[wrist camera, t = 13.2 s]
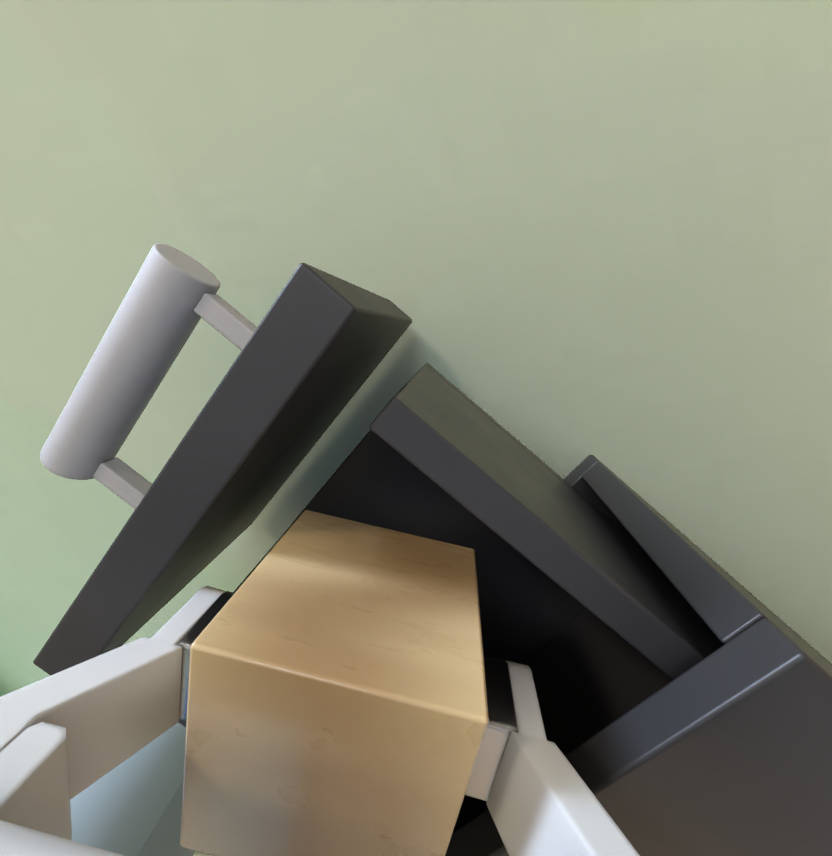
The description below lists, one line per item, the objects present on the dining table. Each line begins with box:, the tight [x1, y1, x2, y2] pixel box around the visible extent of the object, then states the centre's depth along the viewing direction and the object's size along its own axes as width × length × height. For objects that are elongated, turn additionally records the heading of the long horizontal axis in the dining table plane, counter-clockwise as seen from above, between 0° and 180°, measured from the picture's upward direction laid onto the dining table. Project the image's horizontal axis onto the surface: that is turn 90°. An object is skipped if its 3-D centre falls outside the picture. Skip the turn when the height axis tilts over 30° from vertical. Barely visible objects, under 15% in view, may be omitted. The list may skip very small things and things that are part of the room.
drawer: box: [33, 243, 724, 834], centre depth 12 cm, size 19×12×8 cm, turn 50°
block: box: [180, 510, 489, 856], centre depth 8 cm, size 4×4×4 cm
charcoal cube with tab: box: [445, 455, 832, 856], centre depth 13 cm, size 16×13×10 cm
